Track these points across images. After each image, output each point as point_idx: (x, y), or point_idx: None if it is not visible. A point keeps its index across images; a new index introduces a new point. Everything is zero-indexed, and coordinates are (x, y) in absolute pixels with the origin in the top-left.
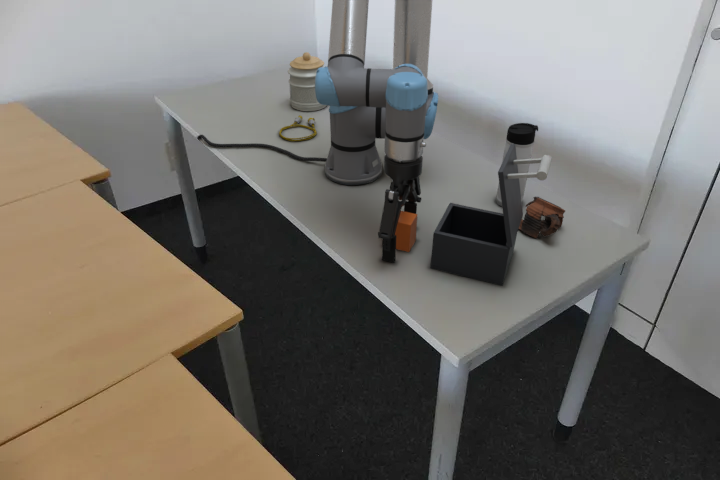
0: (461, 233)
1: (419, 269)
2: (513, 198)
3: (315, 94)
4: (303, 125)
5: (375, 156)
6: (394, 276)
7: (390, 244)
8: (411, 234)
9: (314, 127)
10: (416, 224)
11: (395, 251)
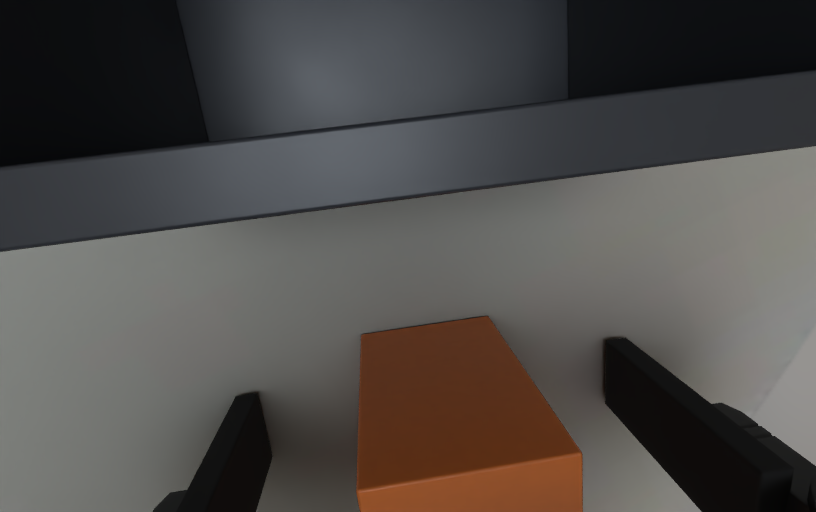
0: (165, 43)
1: (616, 191)
2: None
3: None
4: None
5: None
6: (720, 283)
7: (775, 443)
8: (494, 380)
9: None
10: (370, 411)
11: (653, 377)
